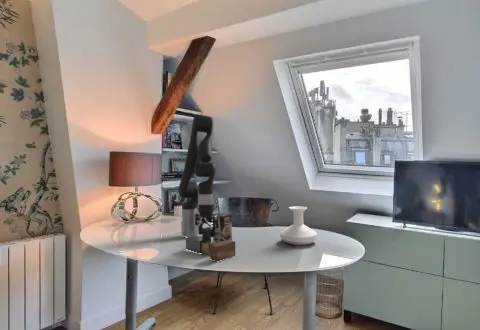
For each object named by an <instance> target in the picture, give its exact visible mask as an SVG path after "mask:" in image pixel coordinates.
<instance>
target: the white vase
mask: <svg viewBox="0 0 480 330" xmlns="http://www.w3.org/2000/svg"><path fill="white" fill-rule="evenodd" d="M288 209H290V210H291V211H292V212H293V224H291V225H289V226H287V227H286V228H284V229H283V230H281V232H280V233H279V235H280V239H281V240H283V242H285V243H287V244H289V245H295V246H304V245H310V244H313V242H315V241H316V240H317V239H318V233H317V232H316V231H315V230H313V229H312V228H310V227H309V226H307V225H305V224H304V212H305V211H306V210H307V209H308V207H307V206H302V205H301V206H298V205H295V206H289V207H288Z"/></svg>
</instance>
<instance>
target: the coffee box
mask: <svg viewBox="0 0 480 330" xmlns="http://www.w3.org/2000/svg"><path fill="white" fill-rule="evenodd" d="M232 215H233V214H231V213H221V214H217V215H214V216H218V228H216V229H215V236H214V237H212V238H213V239H212V240H213V242H216V243H218V242H222V241H225V240H231V241H233V230H232V229H233V226H232V225H233V223H232V222H233V221H232V219H233V218H232ZM215 226H216V224H215Z"/></svg>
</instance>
